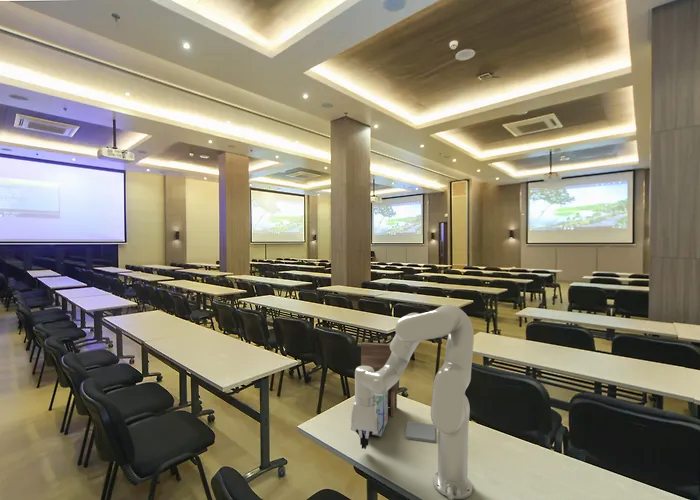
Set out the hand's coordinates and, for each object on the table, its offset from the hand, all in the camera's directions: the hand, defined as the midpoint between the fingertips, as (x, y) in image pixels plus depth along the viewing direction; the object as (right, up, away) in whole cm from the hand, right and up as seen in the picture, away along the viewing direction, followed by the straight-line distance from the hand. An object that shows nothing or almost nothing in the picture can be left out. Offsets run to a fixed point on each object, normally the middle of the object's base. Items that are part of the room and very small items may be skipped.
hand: (364, 446), depth 128 cm
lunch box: (+6, -3, +21) cm, 22 cm away
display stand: (+8, -2, +35) cm, 36 cm away
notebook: (+25, -3, +14) cm, 29 cm away
